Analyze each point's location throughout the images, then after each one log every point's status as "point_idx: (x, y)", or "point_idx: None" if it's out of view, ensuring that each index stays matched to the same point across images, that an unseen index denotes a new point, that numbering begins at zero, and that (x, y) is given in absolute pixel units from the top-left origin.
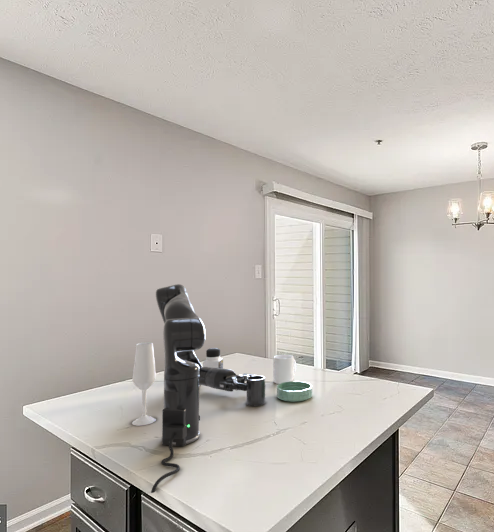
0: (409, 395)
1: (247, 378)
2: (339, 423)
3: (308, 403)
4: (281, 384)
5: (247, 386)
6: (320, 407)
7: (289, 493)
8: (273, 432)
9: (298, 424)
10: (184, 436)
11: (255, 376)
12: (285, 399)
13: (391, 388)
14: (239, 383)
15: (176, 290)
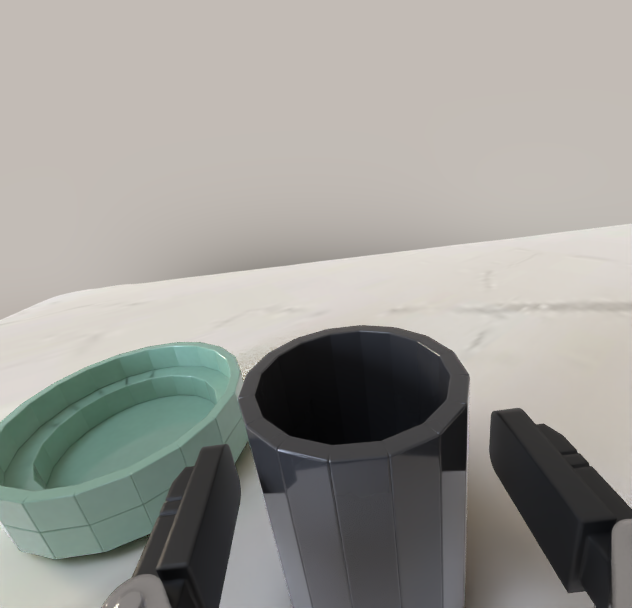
0: (108, 294)
1: (449, 405)
2: (345, 285)
3: None
4: (50, 493)
5: (493, 423)
6: (258, 338)
7: (611, 232)
8: (528, 312)
9: (423, 310)
10: None
11: (277, 431)
12: None
13: (38, 321)
14: (588, 498)
15: None
